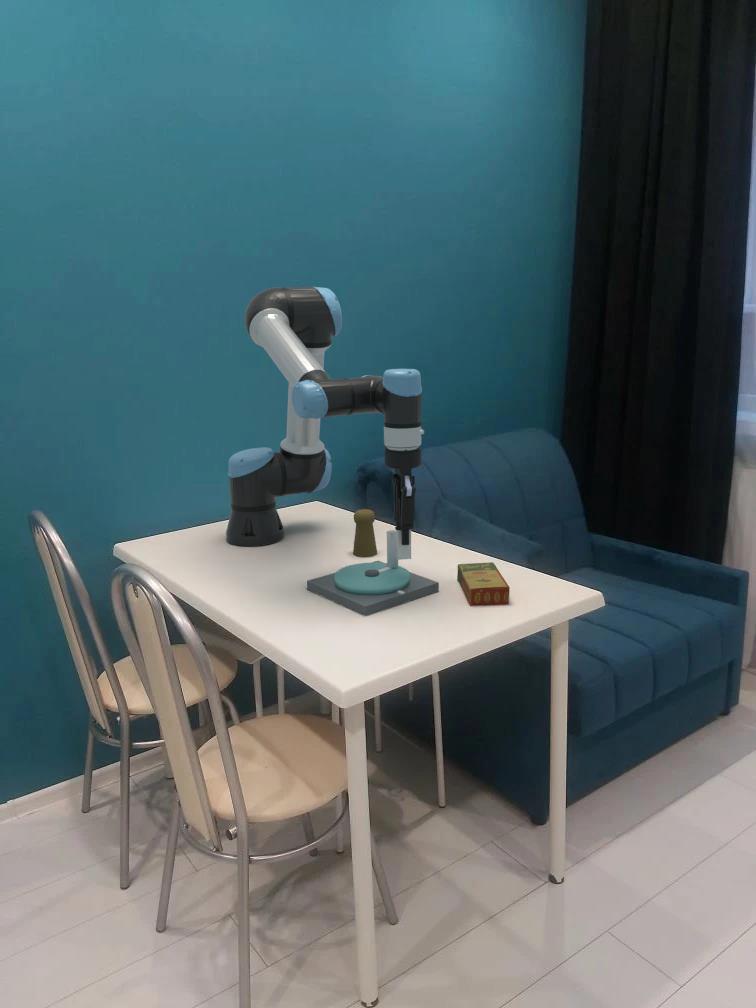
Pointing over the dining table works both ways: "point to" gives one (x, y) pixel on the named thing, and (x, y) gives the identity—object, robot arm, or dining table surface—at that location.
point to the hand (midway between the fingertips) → (404, 558)
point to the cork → (364, 534)
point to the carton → (483, 584)
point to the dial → (375, 574)
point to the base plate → (372, 602)
